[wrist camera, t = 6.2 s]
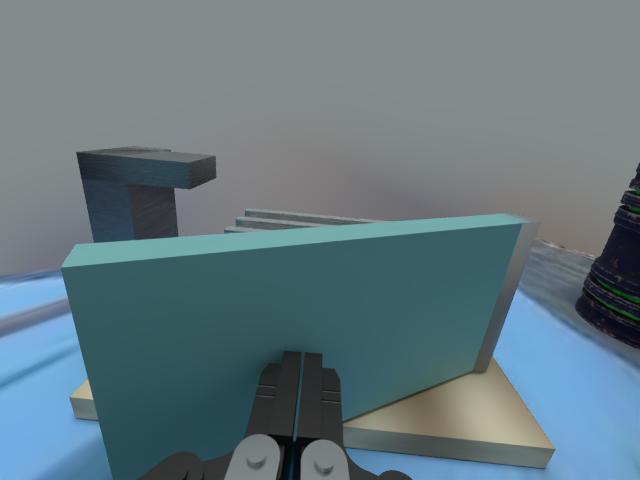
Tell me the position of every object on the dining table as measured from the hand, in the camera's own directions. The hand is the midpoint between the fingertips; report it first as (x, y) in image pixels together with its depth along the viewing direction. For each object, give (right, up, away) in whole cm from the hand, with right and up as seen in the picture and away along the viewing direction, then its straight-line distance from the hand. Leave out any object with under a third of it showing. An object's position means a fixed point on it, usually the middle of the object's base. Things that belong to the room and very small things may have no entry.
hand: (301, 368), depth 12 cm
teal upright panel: (+2, -4, +4) cm, 6 cm away
